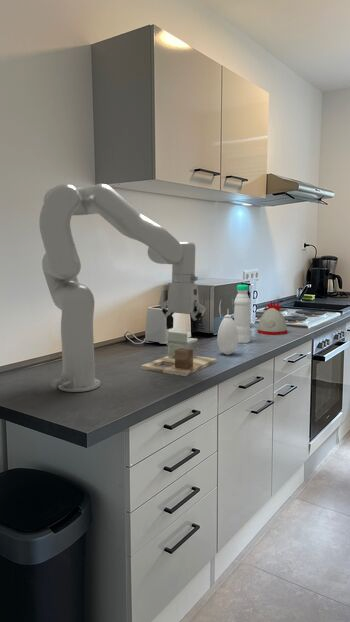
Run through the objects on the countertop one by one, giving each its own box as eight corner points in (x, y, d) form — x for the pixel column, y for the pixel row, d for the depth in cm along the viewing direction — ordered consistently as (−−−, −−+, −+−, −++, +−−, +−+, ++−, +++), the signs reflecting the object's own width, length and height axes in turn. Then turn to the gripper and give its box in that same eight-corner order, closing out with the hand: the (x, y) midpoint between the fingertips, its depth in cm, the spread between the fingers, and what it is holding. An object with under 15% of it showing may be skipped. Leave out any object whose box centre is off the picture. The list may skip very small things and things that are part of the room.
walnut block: (186, 369, 161) (186, 351, 160) (174, 367, 163) (174, 350, 162) (193, 366, 164) (193, 349, 163) (181, 364, 167) (181, 347, 166)
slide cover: (186, 359, 172) (186, 333, 171) (167, 356, 177) (167, 331, 175) (197, 355, 179) (197, 330, 178) (179, 352, 183) (179, 328, 182)
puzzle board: (185, 376, 157) (185, 372, 156) (140, 369, 166) (140, 365, 166) (216, 361, 175) (216, 358, 175) (175, 356, 185) (175, 352, 184)
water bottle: (237, 344, 205) (238, 285, 202) (231, 340, 212) (231, 284, 208) (252, 343, 207) (253, 285, 204) (246, 339, 214) (246, 283, 210)
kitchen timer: (281, 336, 222) (281, 304, 220) (253, 333, 229) (253, 302, 227) (290, 331, 233) (291, 300, 231) (264, 329, 241) (264, 299, 239)
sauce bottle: (213, 354, 187) (213, 308, 184) (226, 351, 192) (226, 306, 190) (229, 357, 181) (229, 310, 179) (241, 354, 187) (242, 308, 184)
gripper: (211, 280, 158) (209, 331, 160) (167, 277, 167) (166, 326, 169) (200, 281, 152) (198, 334, 154) (155, 278, 161) (154, 328, 163)
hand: (181, 330), depth 161 cm, fingers open, 9 cm apart
